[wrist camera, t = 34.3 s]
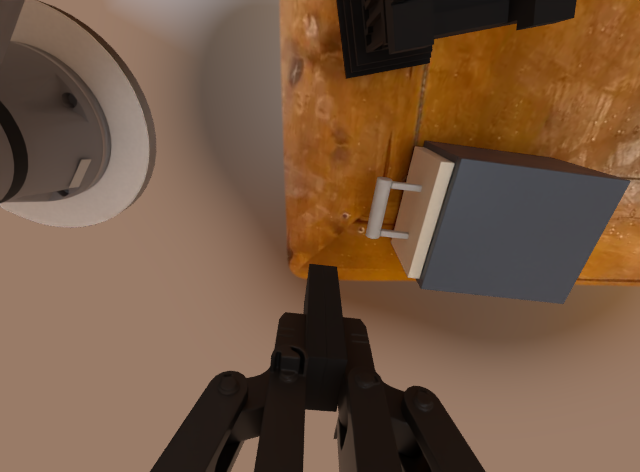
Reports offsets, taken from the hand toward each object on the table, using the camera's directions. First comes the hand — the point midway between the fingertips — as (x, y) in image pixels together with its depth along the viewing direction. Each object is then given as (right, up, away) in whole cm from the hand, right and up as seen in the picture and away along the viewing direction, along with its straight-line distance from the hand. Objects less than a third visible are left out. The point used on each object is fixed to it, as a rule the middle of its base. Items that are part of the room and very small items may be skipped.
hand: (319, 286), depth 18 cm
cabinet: (+18, +7, +20) cm, 27 cm away
